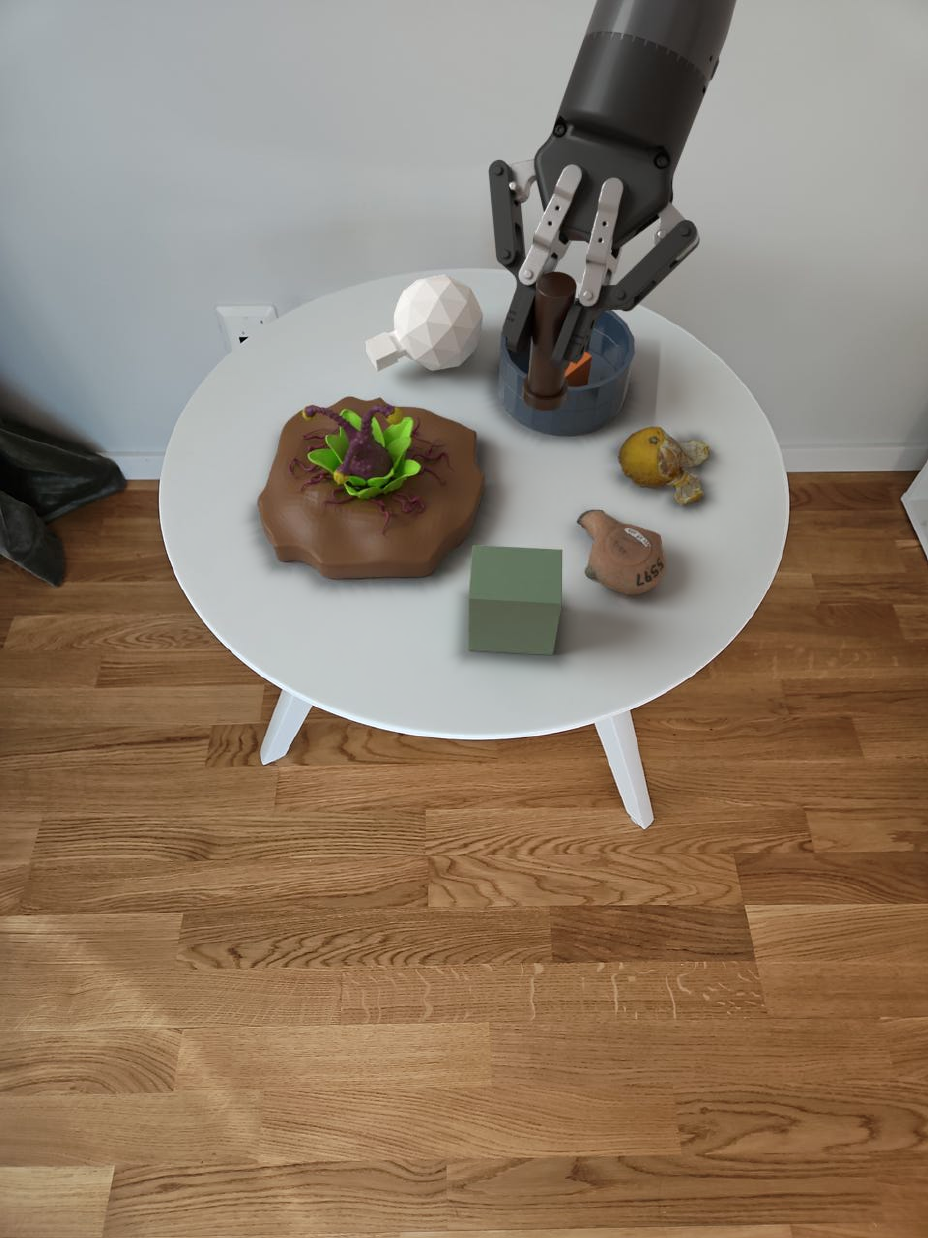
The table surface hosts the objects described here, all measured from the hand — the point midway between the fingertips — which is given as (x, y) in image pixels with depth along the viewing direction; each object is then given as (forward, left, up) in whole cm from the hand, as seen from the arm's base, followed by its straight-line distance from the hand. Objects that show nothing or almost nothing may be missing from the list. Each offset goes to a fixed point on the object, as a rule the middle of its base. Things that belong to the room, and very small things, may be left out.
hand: (537, 358), depth 56 cm
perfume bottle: (+10, -27, -26) cm, 39 cm away
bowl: (-4, -24, -26) cm, 35 cm away
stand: (0, +4, -26) cm, 26 cm away
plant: (+13, -9, -26) cm, 31 cm away
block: (-3, -24, -25) cm, 35 cm away
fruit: (-14, -13, -26) cm, 32 cm away
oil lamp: (-9, -3, -26) cm, 28 cm away
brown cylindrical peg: (-1, -2, -5) cm, 5 cm away
